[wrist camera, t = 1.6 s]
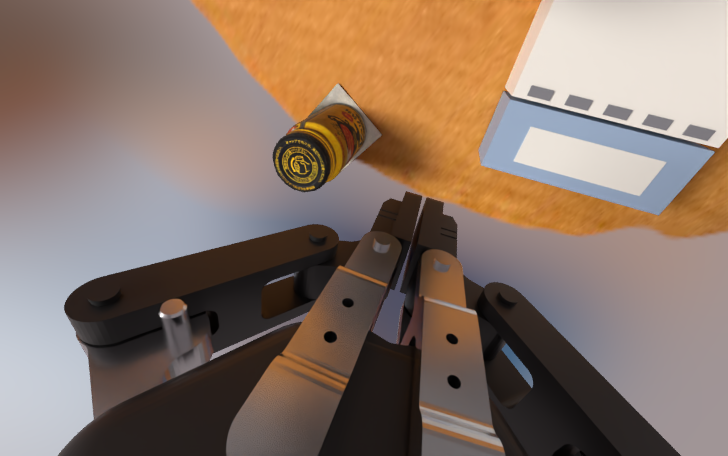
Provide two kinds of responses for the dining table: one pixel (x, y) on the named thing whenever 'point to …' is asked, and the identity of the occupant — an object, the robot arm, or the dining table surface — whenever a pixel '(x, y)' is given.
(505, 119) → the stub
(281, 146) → the condiment
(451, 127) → the dining table surface
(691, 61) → the white box
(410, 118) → the dining table surface
